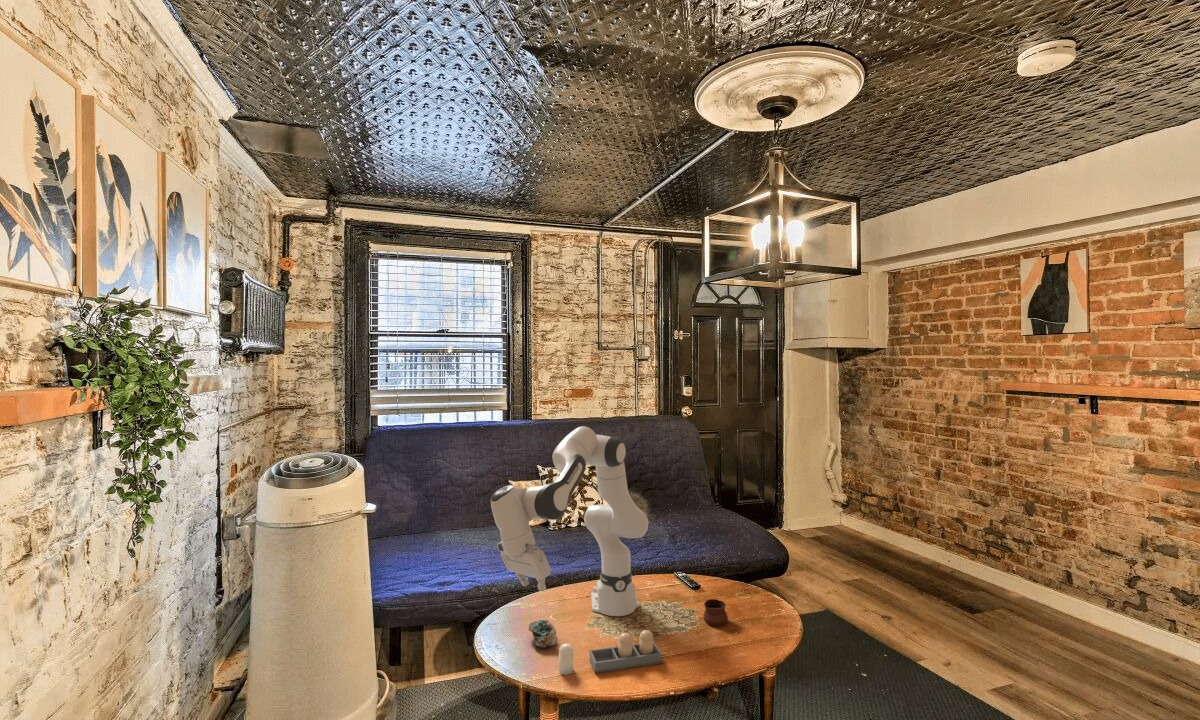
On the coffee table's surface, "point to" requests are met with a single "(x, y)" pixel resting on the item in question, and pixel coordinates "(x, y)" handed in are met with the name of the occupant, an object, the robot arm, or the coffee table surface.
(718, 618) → the ceramic pot
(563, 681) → the coffee table surface
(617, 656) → the carton
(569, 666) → the cream round-topped peg
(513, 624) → the coffee table surface
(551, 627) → the mineral specimen
